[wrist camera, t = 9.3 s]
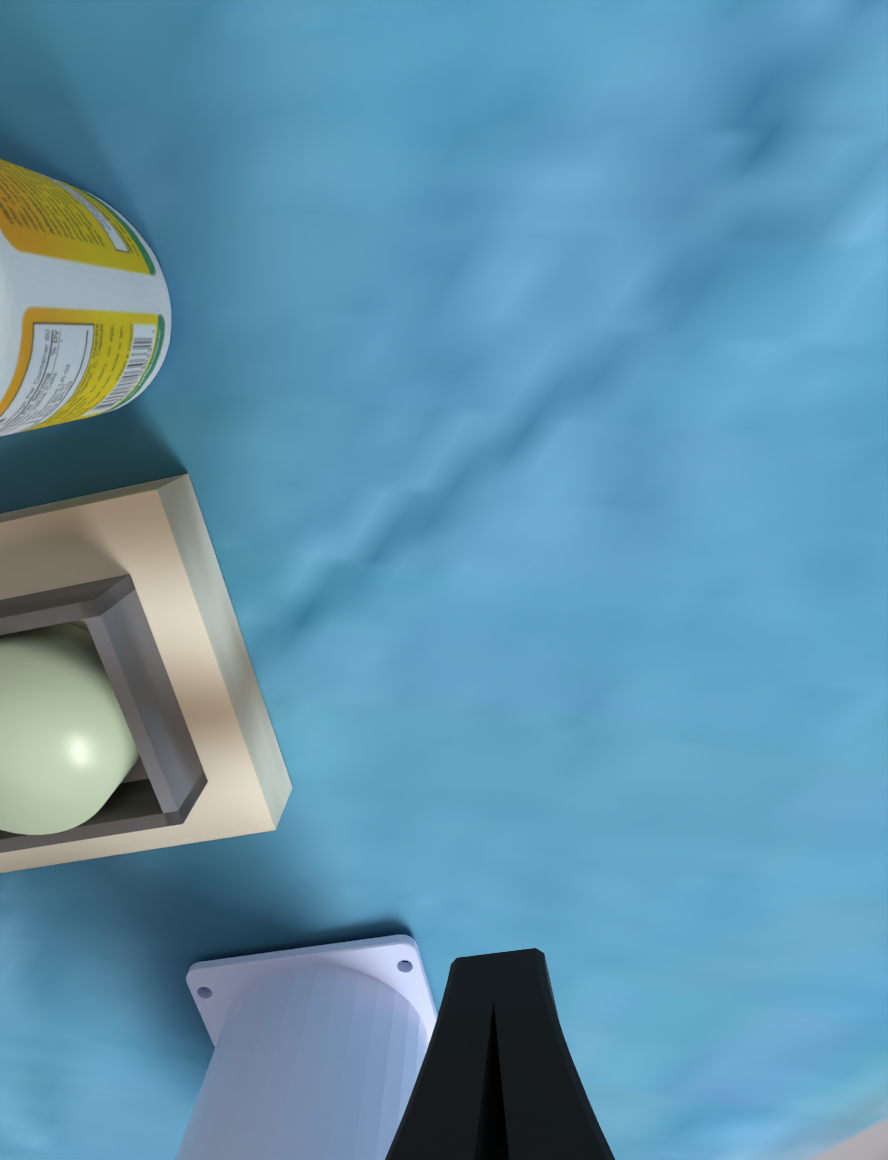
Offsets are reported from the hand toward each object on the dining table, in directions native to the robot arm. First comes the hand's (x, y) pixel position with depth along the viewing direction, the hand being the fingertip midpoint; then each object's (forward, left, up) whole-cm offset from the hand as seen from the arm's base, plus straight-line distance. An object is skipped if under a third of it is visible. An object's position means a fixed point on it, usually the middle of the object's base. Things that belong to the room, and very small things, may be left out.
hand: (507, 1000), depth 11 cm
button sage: (+3, +11, -8) cm, 14 cm away
